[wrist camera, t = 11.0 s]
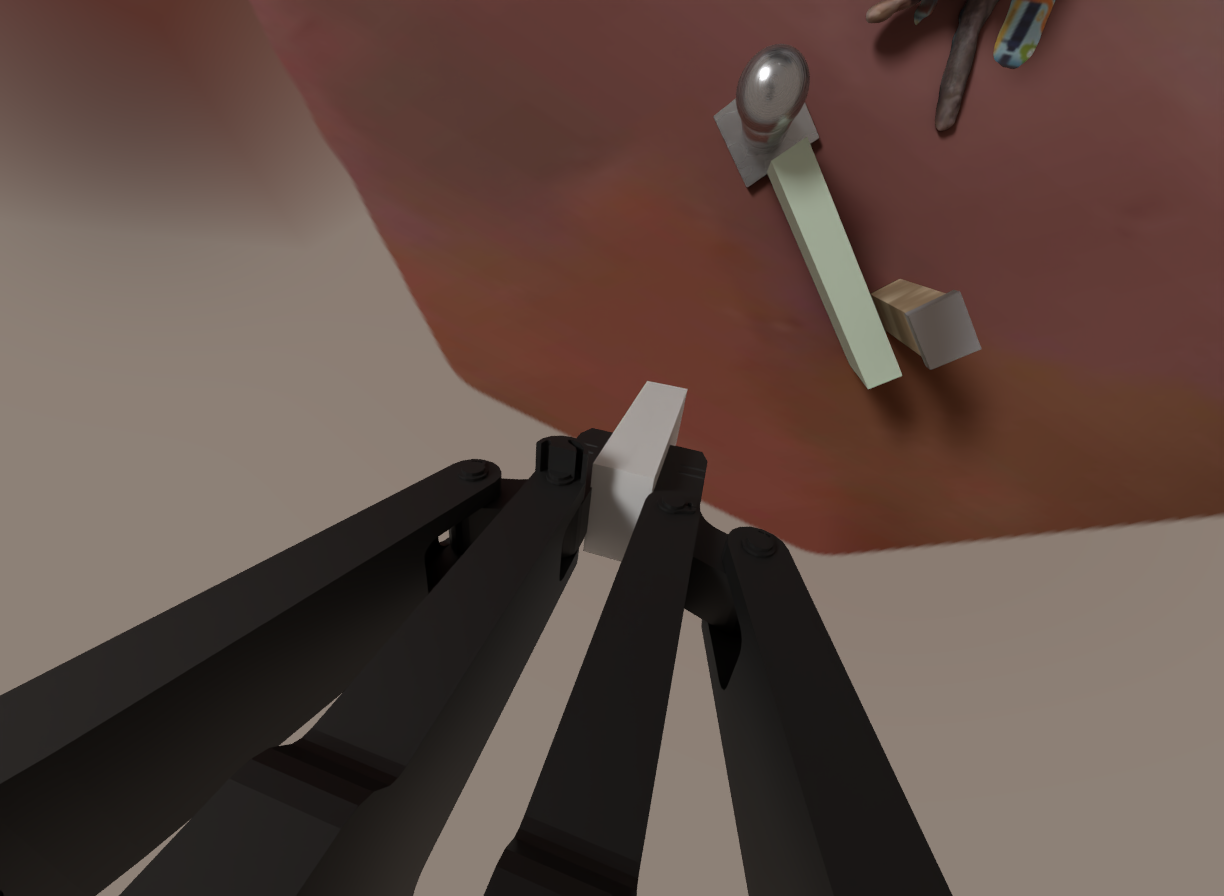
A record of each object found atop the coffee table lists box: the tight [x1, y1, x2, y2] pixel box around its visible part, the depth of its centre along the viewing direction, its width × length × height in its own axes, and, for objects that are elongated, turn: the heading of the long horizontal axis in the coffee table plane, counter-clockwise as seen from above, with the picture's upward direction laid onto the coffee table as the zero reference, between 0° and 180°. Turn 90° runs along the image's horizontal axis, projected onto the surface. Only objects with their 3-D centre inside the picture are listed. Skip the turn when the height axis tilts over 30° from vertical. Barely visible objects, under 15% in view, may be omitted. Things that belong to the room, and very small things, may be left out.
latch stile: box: [870, 279, 981, 370], centre depth 28 cm, size 2×3×10 cm
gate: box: [767, 137, 902, 389], centre depth 29 cm, size 15×2×6 cm, turn 32°
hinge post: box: [713, 44, 819, 188], centre depth 25 cm, size 5×5×11 cm
